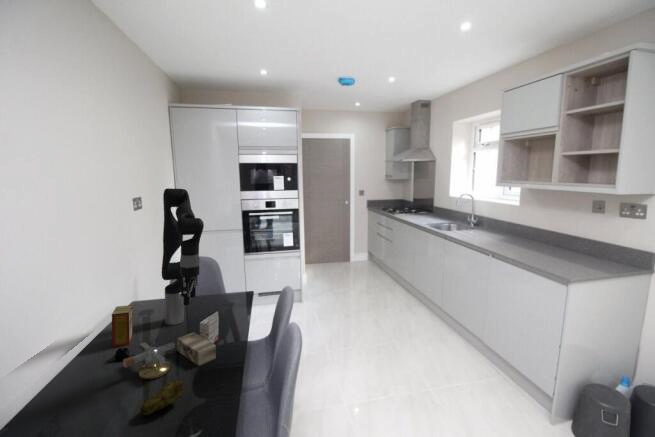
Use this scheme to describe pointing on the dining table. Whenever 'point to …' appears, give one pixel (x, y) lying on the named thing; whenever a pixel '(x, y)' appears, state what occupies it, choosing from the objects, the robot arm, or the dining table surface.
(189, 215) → the robot arm
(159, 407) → the potato
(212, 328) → the ink cartridge box
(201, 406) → the dining table surface
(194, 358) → the cardboard box
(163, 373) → the capstan
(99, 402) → the dining table surface
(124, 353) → the black angular block
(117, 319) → the baking soda box
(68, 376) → the dining table surface
